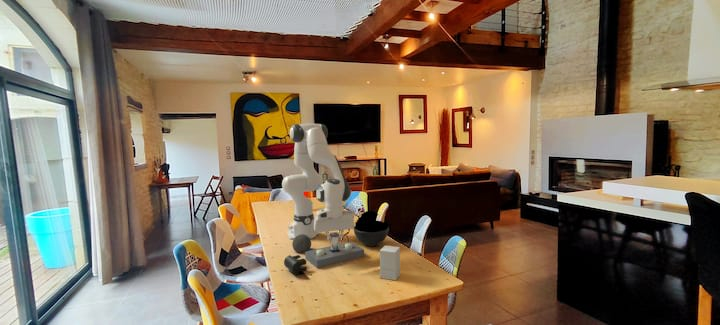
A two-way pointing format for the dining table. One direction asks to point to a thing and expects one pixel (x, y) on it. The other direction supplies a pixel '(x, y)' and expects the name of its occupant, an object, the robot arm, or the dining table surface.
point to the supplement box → (390, 262)
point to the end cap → (295, 264)
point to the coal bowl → (370, 229)
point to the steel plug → (334, 242)
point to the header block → (334, 255)
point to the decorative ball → (301, 243)
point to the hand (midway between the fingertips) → (334, 238)
